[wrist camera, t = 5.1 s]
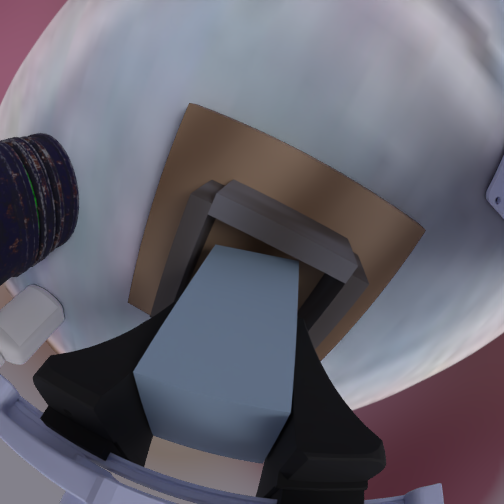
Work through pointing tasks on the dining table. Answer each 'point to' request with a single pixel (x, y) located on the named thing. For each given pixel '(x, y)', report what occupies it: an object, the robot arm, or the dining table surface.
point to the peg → (225, 357)
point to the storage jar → (34, 201)
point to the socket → (269, 223)
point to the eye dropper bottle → (28, 323)
